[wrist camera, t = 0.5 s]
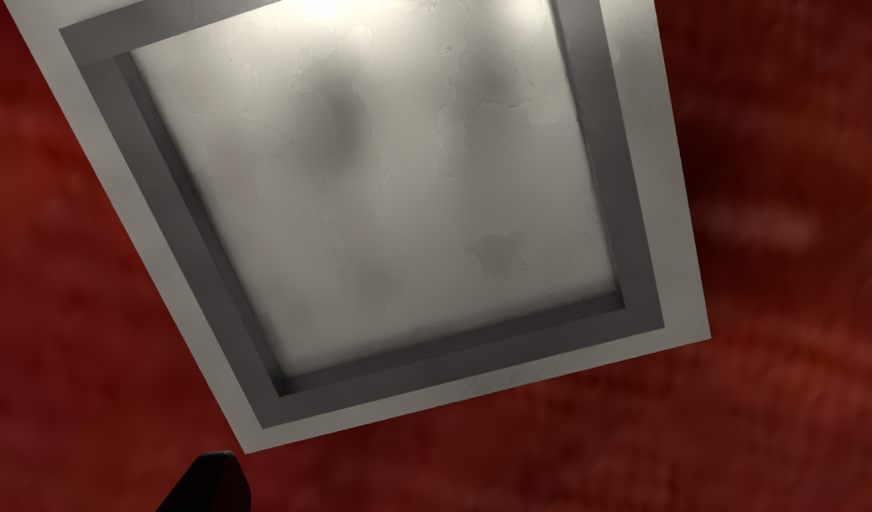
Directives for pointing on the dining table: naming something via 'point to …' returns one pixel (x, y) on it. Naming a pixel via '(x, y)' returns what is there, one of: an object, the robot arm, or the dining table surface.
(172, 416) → the dining table surface
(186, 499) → the robot arm
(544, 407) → the dining table surface
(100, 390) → the dining table surface
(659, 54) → the press bed
